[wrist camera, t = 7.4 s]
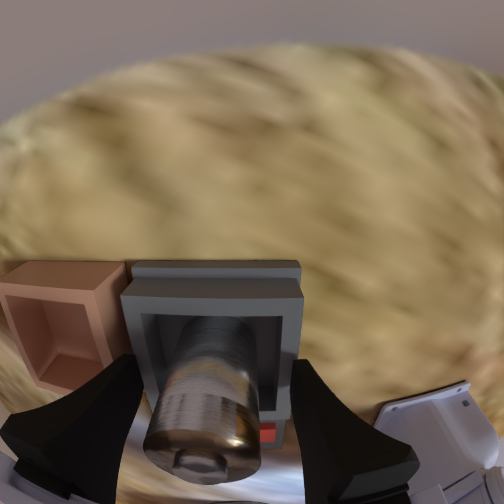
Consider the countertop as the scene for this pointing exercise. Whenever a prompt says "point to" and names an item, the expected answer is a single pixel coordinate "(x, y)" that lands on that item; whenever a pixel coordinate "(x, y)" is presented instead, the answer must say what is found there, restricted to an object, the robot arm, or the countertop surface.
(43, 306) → the small pink square bin
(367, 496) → the robot arm
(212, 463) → the disc
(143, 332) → the checker
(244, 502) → the pillar candle
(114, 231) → the countertop surface
